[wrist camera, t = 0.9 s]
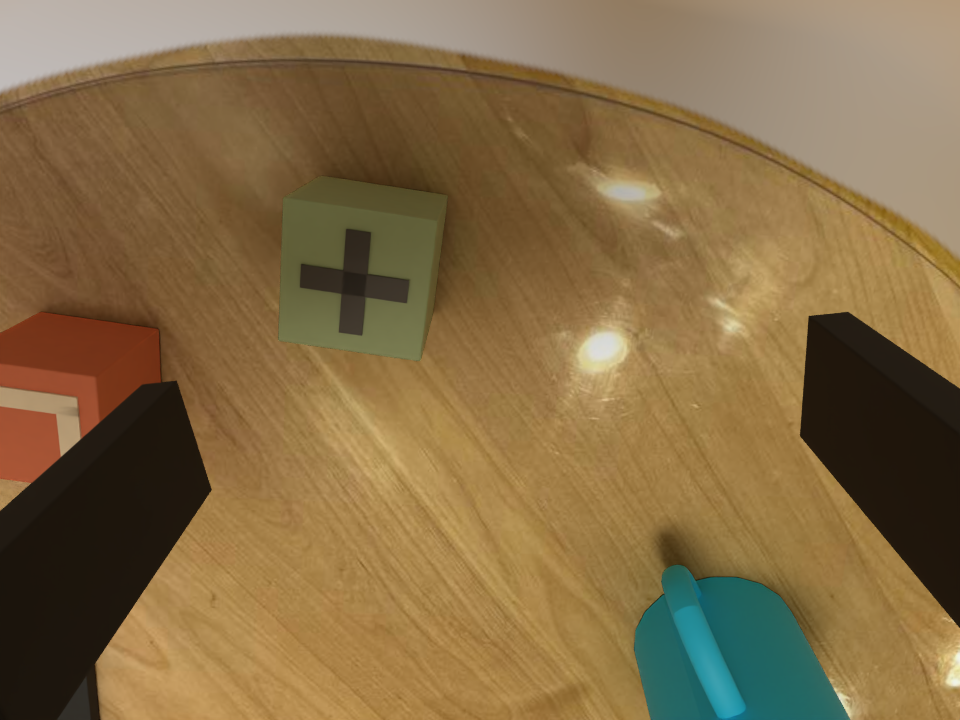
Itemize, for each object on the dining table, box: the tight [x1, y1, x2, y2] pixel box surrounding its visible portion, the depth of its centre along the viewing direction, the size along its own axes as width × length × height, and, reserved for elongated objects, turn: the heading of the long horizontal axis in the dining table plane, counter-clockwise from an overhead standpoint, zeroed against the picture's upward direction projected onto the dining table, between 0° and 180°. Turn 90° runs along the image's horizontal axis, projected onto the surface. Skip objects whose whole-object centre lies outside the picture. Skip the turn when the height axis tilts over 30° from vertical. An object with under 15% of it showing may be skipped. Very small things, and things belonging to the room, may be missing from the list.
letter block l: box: [0, 312, 161, 483], centre depth 27 cm, size 5×5×5 cm
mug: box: [634, 565, 850, 720], centre depth 31 cm, size 12×8×8 cm
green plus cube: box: [278, 176, 448, 361], centre depth 25 cm, size 5×5×5 cm
